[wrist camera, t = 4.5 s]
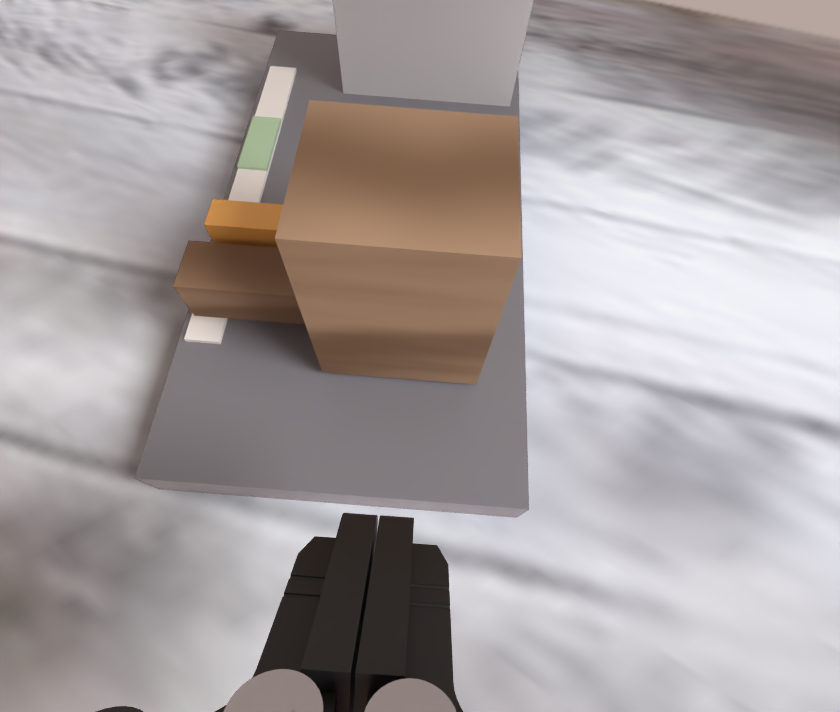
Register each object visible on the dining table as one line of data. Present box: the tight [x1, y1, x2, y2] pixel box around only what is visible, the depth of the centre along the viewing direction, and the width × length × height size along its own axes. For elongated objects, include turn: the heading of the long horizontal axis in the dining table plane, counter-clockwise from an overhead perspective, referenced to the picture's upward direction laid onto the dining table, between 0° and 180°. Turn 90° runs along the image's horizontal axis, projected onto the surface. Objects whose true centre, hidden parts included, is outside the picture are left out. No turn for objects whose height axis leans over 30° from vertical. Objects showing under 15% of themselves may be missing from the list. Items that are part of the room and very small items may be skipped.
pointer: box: [204, 199, 283, 248], centre depth 19 cm, size 1×4×4 cm, turn 86°
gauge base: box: [135, 0, 533, 517], centre depth 20 cm, size 26×14×12 cm, turn 176°
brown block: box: [173, 100, 522, 384], centre depth 17 cm, size 5×11×8 cm, turn 86°
